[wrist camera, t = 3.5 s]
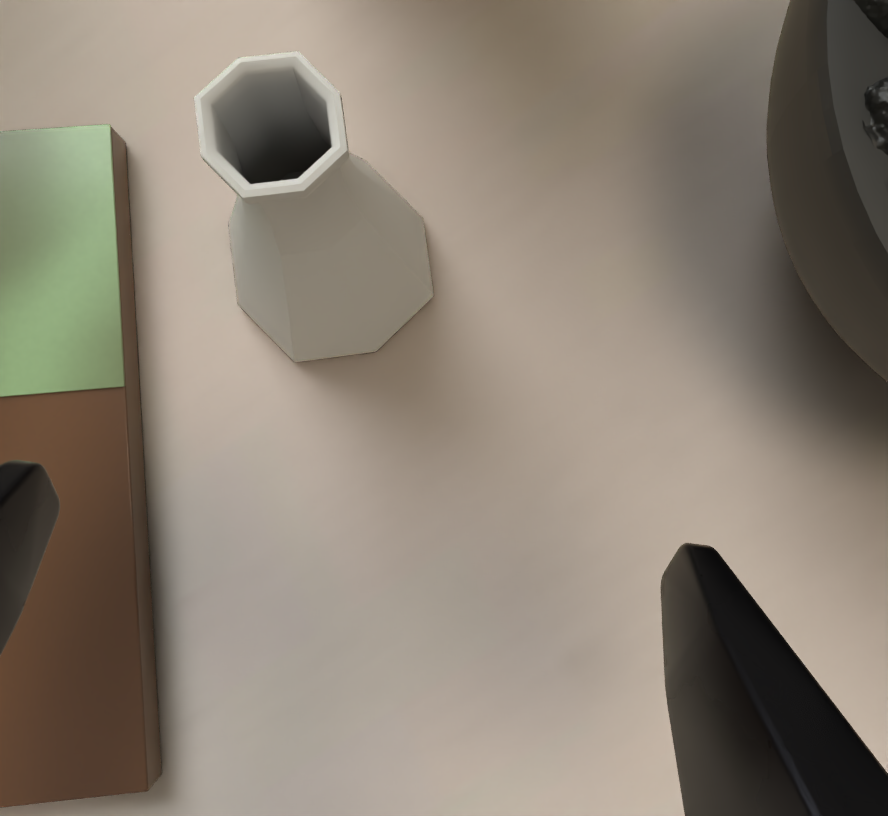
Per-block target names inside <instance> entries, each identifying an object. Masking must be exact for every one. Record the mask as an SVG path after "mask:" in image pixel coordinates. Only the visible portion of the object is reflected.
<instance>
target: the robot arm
mask: <svg viewBox="0 0 888 816" xmlns="http://www.w3.org/2000/svg"><path fill="white" fill-rule="evenodd" d="M59 511H60V500H59V497H58V494H57V492H56V490H55V488H54V486H53V483H52V481H51V479H50V477H49V475H48V473H47V470H46V469H45V467H44V466H43V465H41V464H40V463H36V462H28V461H20V460H11V461H7V462H5V463H3V464H1V465H0V656H1V654H2V652H3V650H4V648H5V646H6V644H7V642H8V640H9V638H10V636H11V634H12V632H13V630H14V628H15V626H16V624H17V622H18V620H19V618H20V616H21V613H22V611H23V608H24V606H25V604H26V601H27V599H28V596H29V593H30V591H31V588H32V585H33V583H34V580H35V577H36V575H37V572H38V569H39V567H40V564H41V561H42V559H43V556H44V553H45V551H46V548H47V545H48V543H49V540H50V537H51V535H52V532H53V529H54V527H55V524H56V521H57V519H58V515H59ZM661 607H662V630H663V652H664V674H665V689H666V697H667V705H668V711H669V718H670V724H671V730H672V737H673V743H674V749H675V755H676V762H677V768H678V774H679V781H680V787H681V793H682V800H683V806H684V812H685V816H888V773H887V772H886V771H885V769H884V768H883V767H882V766H881V764H880V763H879V762H878V760H877V759H876V758H875V756H874V755H873V754H872V752H871V751H870V750H869V749H868V747H867V746H866V745H865V743H864V742H863V741H862V739H861V738H860V737H859V736H858V734H857V733H856V732H855V730H854V729H853V728H852V726H851V725H850V724H849V723H848V721H847V720H846V719H845V717H844V716H843V715H842V713H841V712H840V711H839V709H838V708H837V707H836V706H835V704H834V703H833V702H832V700H831V699H830V698H829V696H828V695H827V694H826V693H825V691H824V690H823V689H822V687H821V686H820V685H819V683H818V682H817V681H816V680H815V678H814V677H813V676H812V674H811V673H810V672H809V670H808V669H807V668H806V667H805V665H804V664H803V663H802V661H801V660H800V659H799V657H798V656H797V655H796V653H795V652H794V651H793V650H792V648H791V647H790V646H789V644H788V643H787V642H786V640H785V639H784V638H783V637H782V635H781V634H780V633H779V631H778V630H777V629H776V627H775V626H774V625H773V624H772V622H771V621H770V620H769V618H768V617H767V616H766V614H765V613H764V612H763V610H762V609H761V608H760V607H759V605H758V604H757V603H756V601H755V600H754V599H753V597H752V596H751V595H750V594H749V592H748V591H747V590H746V588H745V587H744V586H743V584H742V583H741V582H740V581H739V579H738V578H737V577H736V575H735V574H734V573H733V571H732V570H731V569H730V568H729V566H728V565H727V564H726V562H725V561H724V560H723V558H722V557H721V556H720V554H719V553H718V552H717V551H716V550H715V549H714V548H712V547H710V546H707V545H699V544H691V543H685V544H683V545H681V546H680V548H679V549H678V551H677V552H676V554H675V555H674V557H673V559H672V560H671V562H670V563H669V565H668V567H667V568H666V570H665V572H664V574H663V576H662V580H661Z"/></svg>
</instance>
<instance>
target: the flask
mask: <svg viewBox="0 0 888 816" xmlns="http://www.w3.org/2000/svg"><path fill="white" fill-rule="evenodd" d="M194 102H195V110H196V119H197V127H198V136H199V145H200V153H201V157H202V158H203V160H204V161H205V162H206V163H207V164H208V165H209V166H210V167H211V168H212V169H213V170H214V171H215V172H216V173H217V174H218V175H219V176H220V177H221V178H222V179H223V180H224V181H225V182H226V183H227V184H228V185H229V186H230V187H231V188H232V189H233V190H234V191H235V192H236V193H237V198H236V202H235V205H234V208H233V211H232V214H231V217H230V220H229V225H228V227H229V235H230V244H231V252H232V260H233V269H234V277H235V286H236V294H237V303H238V305H239V306H240V307H241V308H242V309H243V310H244V311H245V313H246V314H247V315H248V316H249V317H250V318H251V319H252V320H253V321H254V322H255V323H256V324H257V325H258V326H259V327H260V328H261V329H262V330H263V331H264V332H265V333H266V334H267V335H268V336H269V337H270V338H271V339H272V340H273V341H274V342H275V343H276V344H277V345H278V346H279V347H280V348H281V349H282V350H283V351H284V352H285V353H286V354H287V355H288V356H289V357H290V358H291V359H292V360H293V361H294V362H301V361H309V360H317V359H324V358H332V357H340V356H347V355H355V354H362V353H370V352H376V351H377V350H378V349H379V348H380V347H381V346H383V345H384V344H385V343H386V342H387V341H388V340H389V339H390V338H391V337H392V336H393V335H394V334H395V333H396V332H397V331H398V330H399V329H400V328H401V327H402V326H403V325H404V324H405V323H406V322H407V321H408V320H409V319H410V318H411V317H413V316H414V315H415V314H416V313H417V312H418V311H419V310H420V309H421V308H422V307H423V306H424V305H425V304H426V303H427V302H428V301H429V300H430V299H431V298H432V297H433V296H434V293H433V286H432V279H431V271H430V264H429V257H428V250H427V243H426V236H425V229H424V221H423V217H422V216H421V215H420V214H419V213H418V212H417V211H416V210H415V209H414V208H413V207H412V206H411V205H410V204H409V203H408V202H407V201H406V200H405V199H404V198H403V197H402V196H401V195H400V194H399V193H398V192H397V191H396V190H395V189H394V188H393V187H392V186H391V185H390V184H389V183H388V182H387V181H386V180H385V179H384V178H383V177H382V176H381V175H380V174H379V173H378V172H377V171H376V170H375V169H374V168H373V167H372V166H371V165H370V164H369V163H368V162H366V161H365V160H363V159H362V158H360V157H358V156H355V155H353V154H351V153H349V150H348V142H347V135H346V127H345V120H344V112H343V104H342V98H341V95H340V92H339V91H338V90H337V89H336V88H335V87H334V86H333V85H332V84H331V83H330V82H329V81H328V80H327V79H326V78H325V77H324V76H323V75H322V74H321V73H320V72H319V71H318V70H317V69H316V68H315V67H314V66H313V65H312V64H311V63H310V62H309V61H308V60H307V59H306V58H305V57H304V56H303V55H302V54H301V53H300V52H299V51H294V52H285V53H276V54H266V55H257V56H248V57H239V58H237V59H236V60H235V61H234V62H233V63H232V64H231V65H229V66H228V67H227V68H226V69H225V70H224V71H223V72H222V73H220V74H219V75H218V76H217V77H216V78H215V79H214V80H213V81H212V82H210V83H209V84H208V85H207V86H206V87H205V88H204V89H203V90H202V91H200V92H199V93H198V94H197V95H196V96H195V97H194Z"/></svg>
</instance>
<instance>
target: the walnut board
mask: <svg viewBox="0 0 888 816" xmlns="http://www.w3.org/2000/svg"><path fill="white" fill-rule="evenodd" d="M11 460H20V461H28V462H36V463H40V464H41V465H43V466H44V467H45V469H46V470H47V473H48V475H49V477H50V479H51V481H52V483H53V486H54V488H55V490H56V492H57V494H58V497H59V500H60V511H59V515H58V519H57V521H56V524H55V527H54V529H53V532H52V535H51V537H50V540H49V543H48V545H47V548H46V551H45V553H44V556H43V559H42V561H41V564H40V567H39V569H38V572H37V575H36V577H35V580H34V583H33V585H32V588H31V591H30V593H29V596H28V599H27V601H26V604H25V606H24V608H23V611H22V613H21V616H20V618H19V620H18V622H17V624H16V626H15V628H14V630H13V632H12V634H11V636H10V638H9V640H8V642H7V644H6V646H5V648H4V650H3V652H2V654H1V656H0V808H1V807H10V806H19V805H28V804H37V803H46V802H55V801H64V800H73V799H82V798H91V797H100V796H109V795H119V794H128V793H137V792H146V791H148V790H149V789H150V788H151V787H152V785H153V784H154V783H155V782H156V780H157V779H158V778H159V777H160V776H161V774H162V770H161V752H160V735H159V717H158V700H157V682H156V665H155V647H154V630H153V612H152V595H151V578H150V560H149V543H148V525H147V508H146V490H145V473H144V455H143V438H142V420H141V403H140V386H139V368H138V351H137V333H136V316H135V298H134V281H133V263H132V246H131V229H130V211H129V194H128V176H127V159H126V143H125V141H124V140H123V139H122V138H121V137H120V136H119V135H118V134H117V133H116V132H115V130H114V129H113V128H112V127H111V125H110V124H104V125H89V126H74V127H59V128H44V129H29V130H13V131H0V465H1V464H3V463H5V462H7V461H11Z"/></svg>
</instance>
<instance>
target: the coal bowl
mask: <svg viewBox="0 0 888 816" xmlns="http://www.w3.org/2000/svg"><path fill="white" fill-rule="evenodd" d="M767 158H768V167H769V175H770V183H771V191H772V197H773V202H774V206H775V211H776V215H777V220H778V223H779V227H780V230H781V233H782V236H783V239H784V242H785V245H786V248H787V250H788V253H789V255H790V257H791V260H792V262H793V264H794V266H795V269H796V271H797V273H798V275H799V277H800V279H801V281H802V282H803V284H804V286H805V288H806V290H807V291H808V293H809V295H810V297H811V298H812V300H813V301H814V303H815V304H816V306H817V307H818V309H819V310H820V312H821V313H822V315H823V316H824V317H825V319H826V320H827V321H828V323H829V324H830V325H831V326H832V328H833V329H834V330H835V331H836V332H837V334H838V335H839V336H840V337H841V338H842V340H843V341H844V342H845V343H846V344H847V345H848V346H849V347H850V348H851V349H852V350H853V351H854V352H855V353H856V354H857V355H858V356H859V357H860V358H861V359H862V360H863V361H864V362H865V363H866V364H867V365H868V366H869V367H870V368H871V369H872V370H873V371H875V372H876V373H877V374H878V375H879V376H881V377H882V378H883V379H884V380H885V381H887V382H888V0H790V3H789V7H788V10H787V14H786V17H785V21H784V24H783V28H782V31H781V35H780V39H779V42H778V46H777V50H776V55H775V61H774V66H773V72H772V77H771V85H770V94H769V105H768V118H767Z"/></svg>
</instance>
